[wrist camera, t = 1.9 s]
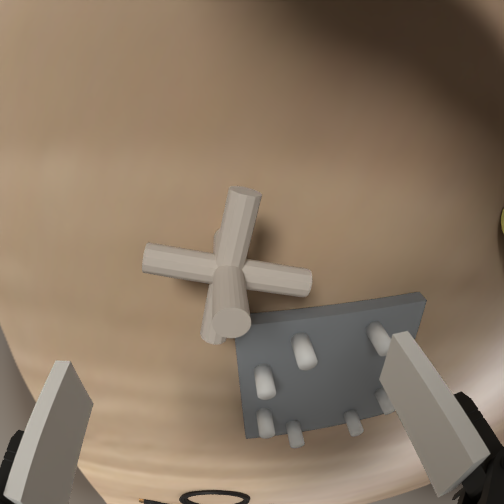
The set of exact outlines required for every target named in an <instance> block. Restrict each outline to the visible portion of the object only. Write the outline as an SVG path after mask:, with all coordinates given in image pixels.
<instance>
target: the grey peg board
mask: <svg viewBox="0 0 504 504" xmlns="http://www.w3.org/2000/svg"><path fill="white" fill-rule="evenodd" d="M426 301H427V300H426V299H425V298H424V297H423V295H422V294H421V293H420V292H415V293H409V294H403V295H397V296H391V297H384V298H378V299H371V300H364V301H357V302H350V303H342V304H335V305H327V306H319V307H310V308H301V309H292V310H283V311H273V312H263V313H252V314H250V317H251V327H250V329H249V330H248V331H247V332H246V333H245V334H244V335H242V336H240V337H236V338H235V343H236V353H237V363H238V373H239V382H240V391H241V400H242V409H243V418H244V426H245V435H246V439H248V438H259V437H261V438H271V437H273V436H276V435H283V434H288V438H289V443H290V447H291V448H299V447H302V446H303V445H304V444H305V443H304V439H303V435H302V432H303V431H309V430H315V429H320V428H326V427H331V426H336V425H340V424H345V423H346V424H347V427H348V429H349V432H350V435H351V436H358V435H360V434H362V433H363V431H364V429H363V427H362V424H361V422H360V420H362V419H366V418H370V417H374V416H378V415H381V414H385V415H388V414H390V413H392V412H394V411H395V409H394V407H393V405H392V403H391V401H390V399H389V397H388V395H387V393H386V391H385V389H384V388H383V386H382V384H381V382H380V380H379V378H380V375H381V372H382V369H383V366H384V362H385V359H386V356H387V352H388V349H389V345H390V342H391V338H392V335H393V334H396V333H401V332H405V331H408V332H409V333H410V334H411V336H412V337H413V339H414V340H415V337H416V334H417V331H418V328H419V325H420V321H421V318H422V315H423V311H424V308H425V305H426Z"/></svg>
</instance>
